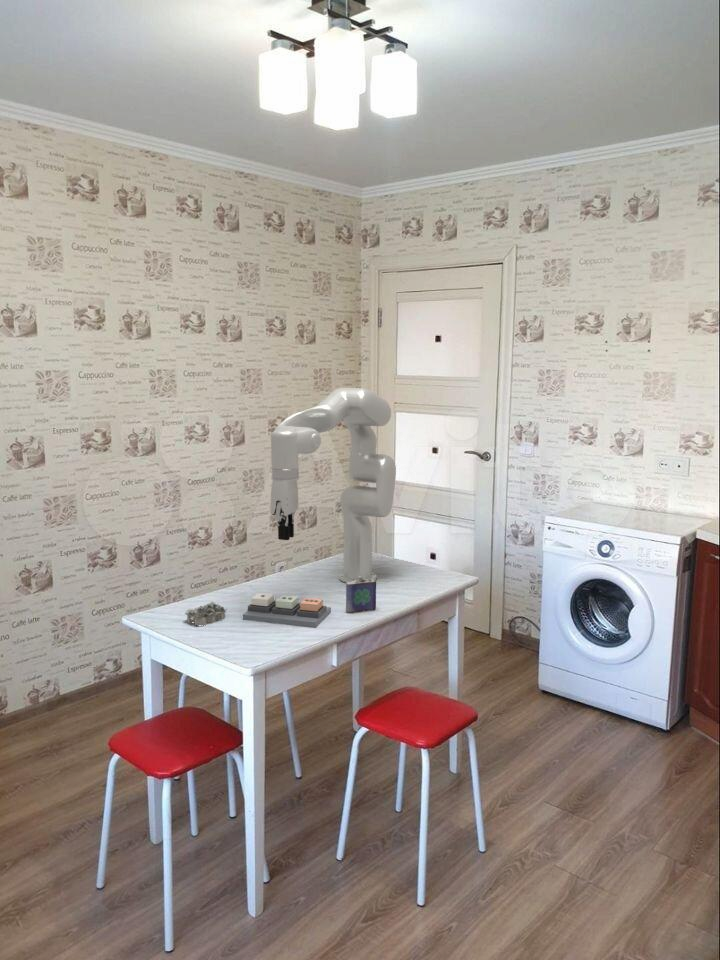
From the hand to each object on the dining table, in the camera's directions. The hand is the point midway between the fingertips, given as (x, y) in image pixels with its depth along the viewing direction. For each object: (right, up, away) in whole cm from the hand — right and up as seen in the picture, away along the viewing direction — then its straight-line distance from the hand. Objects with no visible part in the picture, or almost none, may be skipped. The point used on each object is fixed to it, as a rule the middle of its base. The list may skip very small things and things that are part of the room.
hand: (286, 537), depth 214 cm
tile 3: (+7, -20, +1) cm, 21 cm away
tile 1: (-7, -19, +5) cm, 21 cm away
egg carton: (-23, -24, +1) cm, 33 cm away
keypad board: (0, -23, +4) cm, 23 cm away
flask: (+21, -22, +8) cm, 32 cm away
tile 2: (0, -20, +3) cm, 20 cm away
